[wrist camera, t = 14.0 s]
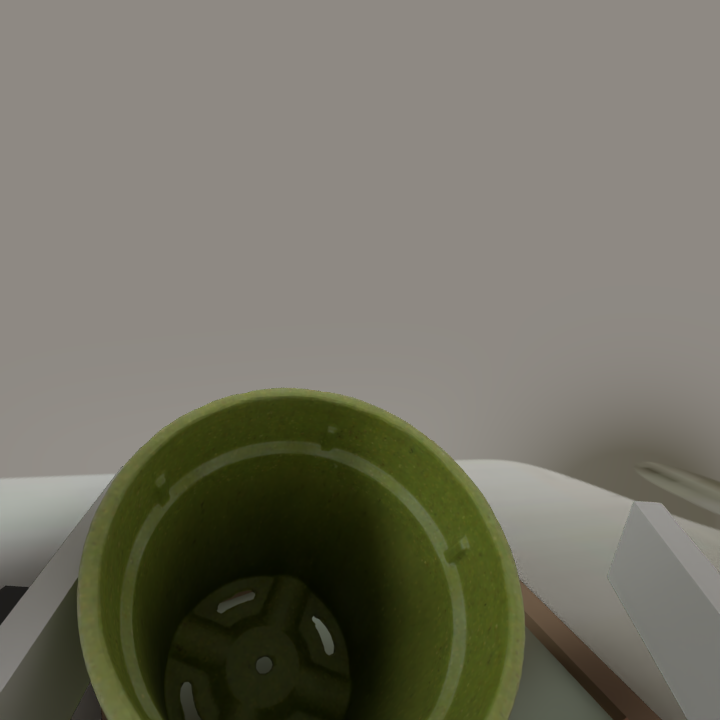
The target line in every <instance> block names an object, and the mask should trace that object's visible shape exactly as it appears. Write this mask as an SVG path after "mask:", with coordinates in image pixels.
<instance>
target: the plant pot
mask: <svg viewBox="0 0 720 720" xmlns="http://www.w3.org/2000/svg"><path fill="white" fill-rule="evenodd" d="M243 591H252V592H254V593H255V596H254V599H252V600H247V601H246V602H243V603H240V604H237V605H235V606H233V607H231V608H229V609H227V610H226V611H224V612H223V613H219V612H218V611H217V610H218V605H219V604H220V603H221V602H223V601H226V600H227V599H230V598H232V597H233V596H234V595H235V594H237V593H239V592H243ZM313 616H314V617H315V618H317V619H319V620H320V621H321V622H322V623H323V624H324V625H325V627H326V628H327V630H328V631H329V633H330V635H331V637H332V641H333V644H334V653H333V654H331V655H328V654H326V652H325V649H324V645H323V643H322V640H321V637H320V634H319V632H318V630H317V629H316V627H315V625H316V624H315V623H314V622H313V620H312V617H313ZM77 617H78V629H79V636H80V643H81V648H82V652H83V657H84V661H85V665H86V669H87V672H88V675H89V678H90V681H91V684H92V687H93V689H94V692H95V695H96V697H97V699H98V702H99V704H100V706H101V708H102V710H103V712H104V714H105V716H106V718H107V719H108V720H185V714H184V710H183V707H182V704H181V699H180V691H181V687H182V685H183V683H184V682H189V683H190V684H191V688H192V695H193V701H194V705H195V708H196V711H197V714H198V716H199V717H200V718H201V720H508V719H509V717H510V714H511V711H512V708H513V706H514V703H515V699H516V696H517V693H518V690H519V683H520V680H521V676H522V666H523V661H524V647H525V613H524V605H523V597H522V592H521V586H520V581H519V576H518V572H517V568H516V564H515V561H514V558H513V555H512V552H511V549H510V547H509V544H508V542H507V540H506V537H505V535H504V532H503V530H502V528H501V526H500V524H499V522H498V520H497V519H496V517H495V515H494V513H493V511H492V509H491V507H490V505H489V504H488V502H487V501H486V499H485V497H484V496H483V494H482V493H481V491H480V490H479V489H478V488H477V486H476V485H475V484H474V482H473V481H472V480H471V479H470V478H469V477H468V475H467V474H466V473H465V472H464V471H463V469H462V468H461V467H460V466H459V465H458V464H457V463H456V462H455V461H454V460H453V459H452V458H451V457H450V456H449V455H448V454H447V453H446V452H445V451H444V450H443V449H442V448H441V447H439V446H438V445H437V444H436V443H435V442H434V441H432V440H430V439H429V438H428V437H426V436H425V435H424V434H423V433H421V432H420V431H418V430H417V429H416V428H414V427H413V426H411V425H410V424H408V423H407V422H406V421H404V420H402V419H400V418H399V417H396V416H395V415H393V414H391V413H389V412H387V411H385V410H383V409H381V408H378V407H376V406H374V405H371V404H369V403H366V402H364V401H361V400H358V399H356V398H353V397H348V396H344V395H341V394H335V393H330V392H321V391H315V390H308V389H296V388H272V389H264V390H256V391H251V392H248V393H244V394H236V395H231V396H228V397H225V398H222V399H219V400H215V401H213V402H211V403H209V404H207V405H205V406H203V407H200V408H198V409H195V410H193V411H191V412H189V413H187V414H185V415H183V416H181V417H179V418H178V419H176V420H175V421H173V422H172V423H170V424H169V425H167V426H165V427H164V428H162V429H161V430H160V431H159V432H158V433H157V434H155V435H154V437H152V438H151V439H150V440H149V441H148V442H147V443H146V444H145V445H144V446H142V447H141V448H140V449H139V450H138V451H137V452H136V453H135V455H134V456H133V457H132V458H131V459H130V460H129V461H128V462H127V463H126V464H125V465H124V467H123V468H122V469H121V471H120V472H119V473H118V475H117V476H116V477H115V478H114V480H113V481H112V483H111V485H110V487H109V488H108V490H107V492H106V493H105V495H104V497H103V499H102V501H101V503H100V505H99V506H98V508H97V510H96V512H95V515H94V517H93V519H92V522H91V524H90V528H89V531H88V534H87V536H86V540H85V543H84V547H83V552H82V557H81V561H80V566H79V573H78V586H77ZM262 657H268V658H269V659H270V660H271V661H272V668H271V670H270V671H269V672H267V673H259V672H258V671H257V669H256V663H257V661H258V660H259V659H260V658H262Z"/></svg>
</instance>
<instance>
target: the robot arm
mask: <svg viewBox="0 0 720 720" xmlns="http://www.w3.org/2000/svg"><path fill="white" fill-rule="evenodd" d="M123 467H124V466H122V467H121V468H120V470H119V471H118V472H117V474H116V475H115V476H114V478H115V477H116V476H117V475H118V473H119V472H120V471H121V469H122V468H123ZM114 478H113V479H112V480H111V481H110V483H109V484H108V485H107V487H106V488H105V489H104V491H103V492H102V493H101V495H100V496H99V497H98V498H97V500H96V501H95V502H94V504H93V505H92V506H91V508H90V509H89V510H88V512H87V513H86V514H85V515H84V517H83V518H82V519H81V521H80V522H79V523H78V525H77V526H76V527H75V529H74V530H73V531H72V532H71V534H70V535H69V536H68V538H67V539H66V540H65V542H64V543H63V544H62V545H61V547H60V548H59V549H58V551H57V552H56V553H55V555H54V556H53V557H52V559H51V560H50V561H49V562H48V564H47V565H46V566H45V568H44V569H43V570H42V572H41V573H40V574H39V576H38V577H37V578H36V579H35V581H34V582H33V583H32V585H31V586H30V587H17V586H5V587H3V588H2V589H1V590H0V720H70V719H71V717H72V716H73V714H74V712H75V710H76V708H77V706H78V704H79V702H80V700H81V698H82V696H83V694H84V692H85V690H86V688H87V686H88V685H89V683H90V678H89V675H88V672H87V669H86V665H85V661H84V657H83V652H82V648H81V643H80V636H79V629H78V617H77V586H78V573H79V566H80V561H81V557H82V552H83V547H84V543H85V540H86V536H87V534H88V531H89V528H90V524H91V522H92V519H93V517H94V515H95V512H96V510H97V508H98V506H99V505H100V503H101V501H102V499H103V497H104V495H105V493H106V492H107V490H108V488H109V487H110V485H111V483H112V481H113V480H114ZM607 578H608V580H609V581H610V583H611V585H612V587H613V588H614V590H615V592H616V594H617V596H618V597H619V599H620V601H621V603H622V604H623V606H624V608H625V610H626V611H627V613H628V615H629V617H630V619H631V620H632V622H633V624H634V626H635V627H636V629H637V631H638V633H639V635H640V636H641V638H642V640H643V642H644V643H645V645H646V647H647V649H648V651H649V652H650V654H651V656H652V658H653V659H654V661H655V663H656V665H657V667H658V668H659V670H660V672H661V674H662V675H663V677H664V679H665V681H666V683H667V684H668V686H669V688H670V690H671V691H672V693H673V695H674V697H675V699H676V700H677V702H678V704H679V706H680V707H681V709H682V711H683V713H684V715H685V716H686V718H687V720H720V573H719V571H718V570H717V569H716V568H715V567H714V565H713V564H712V563H711V562H710V561H709V559H708V558H707V557H706V556H705V555H704V553H703V552H702V551H701V550H700V549H699V547H698V546H697V545H696V544H695V543H694V541H693V540H692V539H691V538H690V537H689V535H688V534H687V533H686V532H685V531H684V529H683V528H682V527H681V526H680V525H679V523H678V522H677V521H676V520H675V519H674V517H673V516H672V515H671V514H670V513H669V512H668V510H667V509H666V508H665V507H664V506H663V504H662V503H656V502H641V501H633V504H632V507H631V510H630V513H629V516H628V518H627V521H626V524H625V527H624V530H623V533H622V535H621V538H620V541H619V544H618V547H617V550H616V552H615V555H614V558H613V561H612V564H611V567H610V569H609V572H608V575H607Z"/></svg>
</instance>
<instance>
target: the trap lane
mask: <svg viewBox="0 0 720 720" xmlns="http://www.w3.org/2000/svg"><path fill="white" fill-rule="evenodd" d="M519 581H520V580H519ZM520 586H521V592H522V597H523V605H524V613H525V647H524V661H523V666H522V676H521V680H520V683H519V690H518V693H517V696H516V699H515V703H514V706H513V708H512V711H511V714H510V717H509V719H508V720H661V719H660V718H659V717H658V716H657V715H656V714H655V713H654V712H653V711H652V710H651V709H650V708H649V707H648V706H647V705H646V704H645V703H644V702H643V701H642V700H641V699H640V698H639V697H638V696H637V695H636V694H635V693H634V692H633V691H632V690H631V689H630V688H629V687H628V686H627V685H626V684H625V683H624V682H623V681H622V680H621V679H620V678H619V677H618V676H617V675H616V674H615V673H614V672H613V671H612V670H611V669H610V668H609V667H608V666H607V665H606V664H605V663H604V662H603V661H602V660H600V659H599V658H598V657H597V656H596V655H595V654H594V653H593V652H592V651H591V650H590V649H589V648H588V647H587V646H586V645H585V644H584V643H583V642H582V641H581V640H580V639H579V638H578V637H577V636H576V635H575V634H574V633H573V632H572V631H571V630H570V629H569V628H568V627H567V626H566V625H565V624H564V623H563V622H562V621H561V620H560V619H559V618H558V617H557V616H556V615H555V614H554V613H553V612H552V611H551V610H550V609H549V608H548V607H547V606H546V605H545V604H544V603H543V602H542V601H541V600H539V599H538V598H537V597H536V596H535V595H534V594H533V593H532V592H531V591H530V590H529V589H528V588H527V587H526V586H525V585H524V584H523V583H522V582H521V581H520ZM254 596H255V593H254V592H252V591H243V592H239V593H237V594H235V595H234V596H233V597H232V598H230V599H227V600H226V601H223V602H221V603H220V604H219V605H218V610H217V611H218V612H219V613H223V612H224V611H226V610H227V609H229V608H231V607H233V606H235V605H237V604H240V603H243V602H246V601H247V600H252V599H254ZM312 620H313V622H314V623H315V624H316V625H315V627H316V629H317V630H318V632H319V634H320V637H321V640H322V643H323V645H324V649H325V652H326V654H328V655H331V654H333V653H334V644H333V641H332V637H331V635H330V633H329V631H328V630H327V628H326V627H325V625H324V624H323V623H322V622H321V621H320V620H319V619H317V618H315V617H314V616H313V617H312ZM271 668H272V661H271V660H270V659H269V658H268V657H262V658H260V659H259V660H258V661H257V663H256V669H257V671H258V672H259V673H267V672H269V671H270V670H271ZM180 699H181V704H182V707H183V710H184V714H185V720H201V718H200V717H199V716H198V714H197V711H196V708H195V705H194V701H193V695H192V688H191V684H190V683H189V682H184V683H183V685H182V687H181V691H180ZM101 715H102V720H108V719H107V718H106V716H105V714H104V712H103V710H102V708H101Z"/></svg>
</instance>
